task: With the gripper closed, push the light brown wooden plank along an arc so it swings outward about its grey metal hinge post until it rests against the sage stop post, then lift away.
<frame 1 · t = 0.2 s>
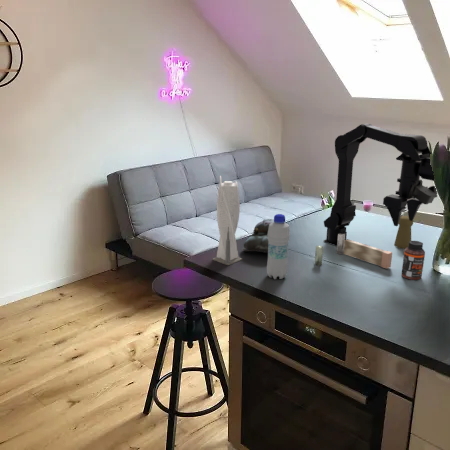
hand: (403, 223, 164), 14 cm above the worktop, tool pointing down, fingers open, 9 cm apart
bottle: (276, 277, 156), on the worktop
light brown wooden plank: (366, 253, 168), point 3 cm above the worktop, hinge at 0.0°
supplement bottle: (411, 277, 157), on the worktop
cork: (402, 246, 184), on the worktop
gate posts: (340, 253, 176), on the worktop
grey lumpy mass: (262, 252, 177), on the worktop
skyscraper: (227, 259, 170), on the worktop
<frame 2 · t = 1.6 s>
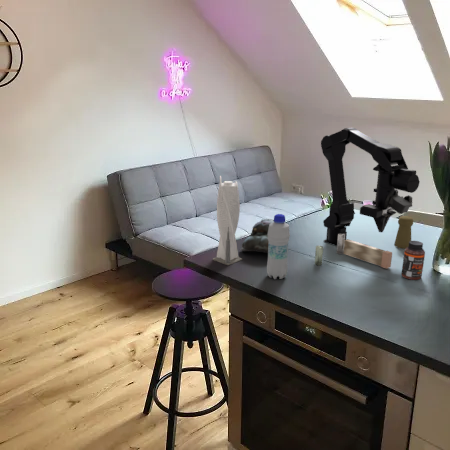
hand: (380, 232, 168), 10 cm above the worktop, tool pointing down, fingers closed
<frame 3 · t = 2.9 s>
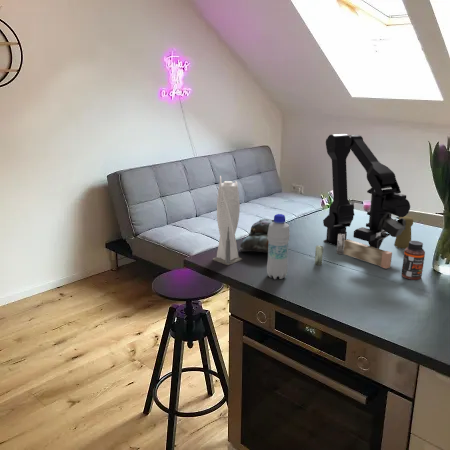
hand: (374, 254, 169), 3 cm above the worktop, tool pointing down, fingers closed
light brown wooden plank: (366, 253, 168), point 3 cm above the worktop, hinge at -0.4°, touching gripper
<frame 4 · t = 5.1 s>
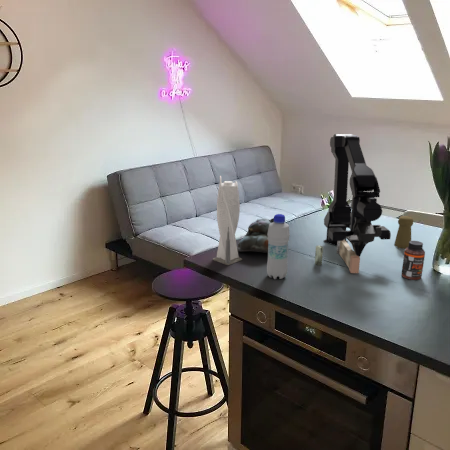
hand: (357, 258, 164), 3 cm above the worktop, tool pointing down, fingers closed
light brown wooden plank: (348, 255, 166), point 3 cm above the worktop, hinge at -39.7°, touching gripper
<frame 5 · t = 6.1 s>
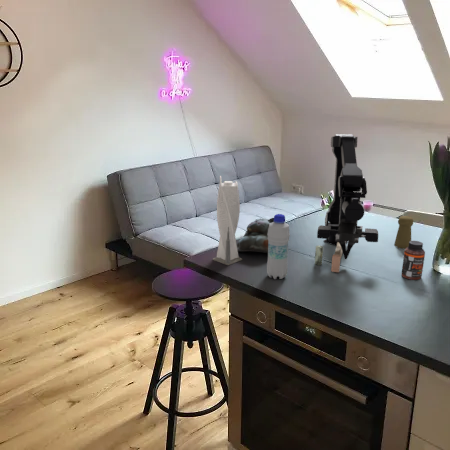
hand: (345, 258, 164), 3 cm above the worktop, tool pointing down, fingers closed
light brown wooden plank: (338, 255, 166), point 3 cm above the worktop, hinge at -58.1°, touching gripper
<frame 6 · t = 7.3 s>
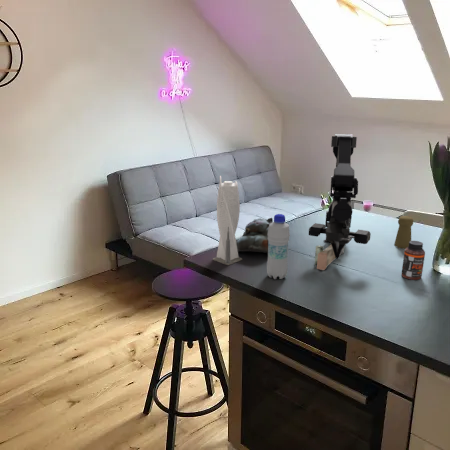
hand: (337, 258, 165), 3 cm above the worktop, tool pointing down, fingers closed
light brown wooden plank: (330, 254, 167), point 3 cm above the worktop, hinge at -72.2°
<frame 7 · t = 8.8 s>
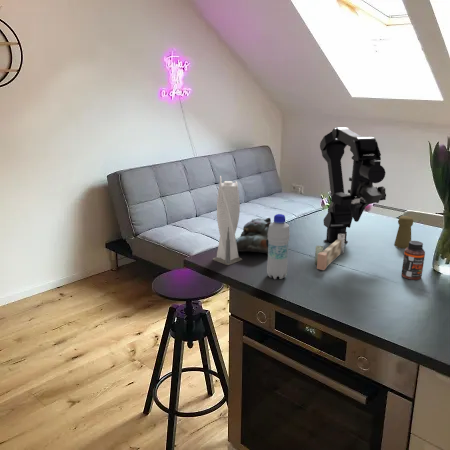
hand: (356, 221, 169), 13 cm above the worktop, tool pointing down, fingers closed
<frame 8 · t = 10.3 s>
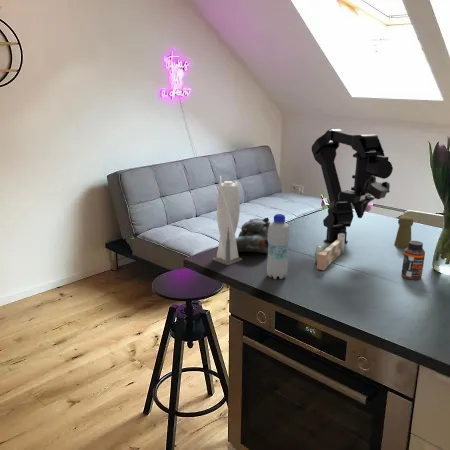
hand: (359, 217, 172), 13 cm above the worktop, tool pointing down, fingers closed
at the end: light brown wooden plank at -72° (first picture: +0°) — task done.
